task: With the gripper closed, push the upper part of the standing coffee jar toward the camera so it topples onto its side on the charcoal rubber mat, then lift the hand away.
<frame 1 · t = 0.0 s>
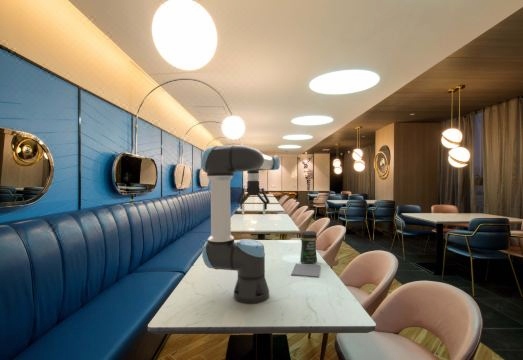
hand: (253, 214, 165), 28 cm above the table, tool pointing down, fingers open, 13 cm apart
coffee jar: (308, 262, 159), on the table
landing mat: (306, 270, 145), on the table
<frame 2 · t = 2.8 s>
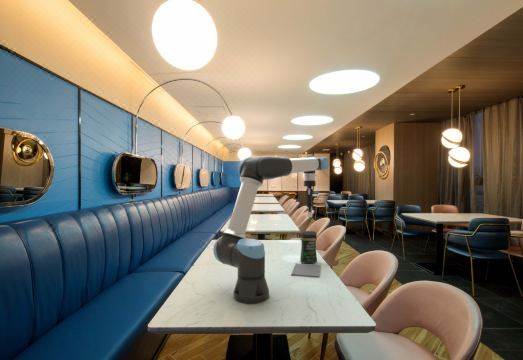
hand: (310, 216, 171), 25 cm above the table, tool pointing down, fingers closed
nothing on the table moved.
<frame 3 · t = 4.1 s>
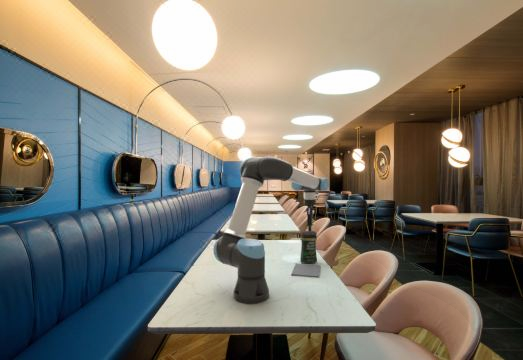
hand: (310, 235, 171), 13 cm above the table, tool pointing down, fingers closed
nothing on the table moved.
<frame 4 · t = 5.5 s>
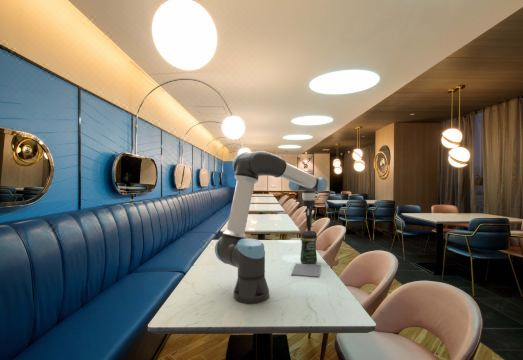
hand: (309, 237, 165), 13 cm above the table, tool pointing down, fingers closed
coffee jar: (308, 262, 159), on the table, touching gripper
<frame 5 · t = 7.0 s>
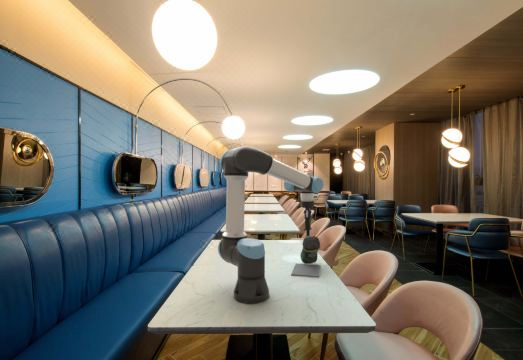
hand: (308, 241, 154), 14 cm above the table, tool pointing down, fingers closed
coffee jar: (308, 258, 158), point 3 cm above the table, touching gripper
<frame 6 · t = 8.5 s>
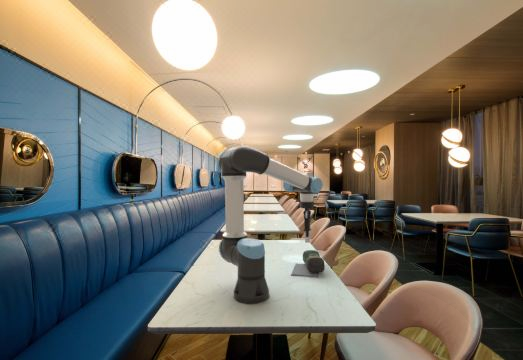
hand: (307, 242, 152), 14 cm above the table, tool pointing down, fingers closed
coffee jar: (310, 256, 156), point 4 cm above the table, touching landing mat
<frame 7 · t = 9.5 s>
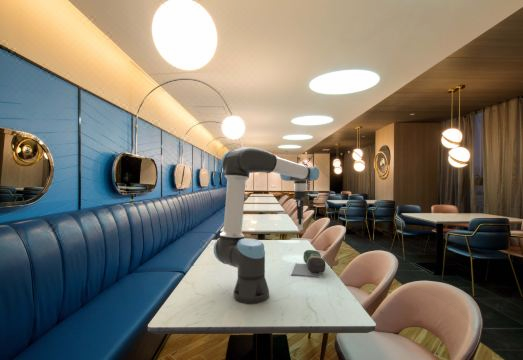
hand: (300, 229, 161), 19 cm above the table, tool pointing down, fingers closed
nothing on the table moved.
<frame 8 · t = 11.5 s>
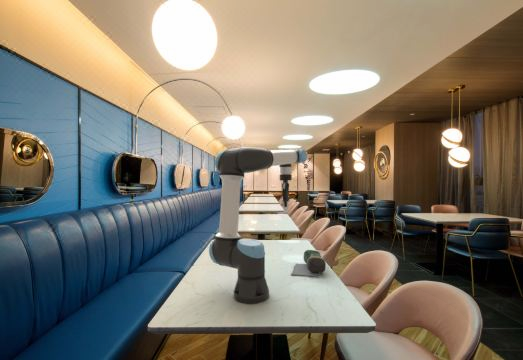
hand: (285, 211, 166), 29 cm above the table, tool pointing down, fingers closed
nothing on the table moved.
at the end: coffee jar tilted 90°; coffee jar inside the target area (5.1 cm from its centre), point 4.5 cm above the table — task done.
